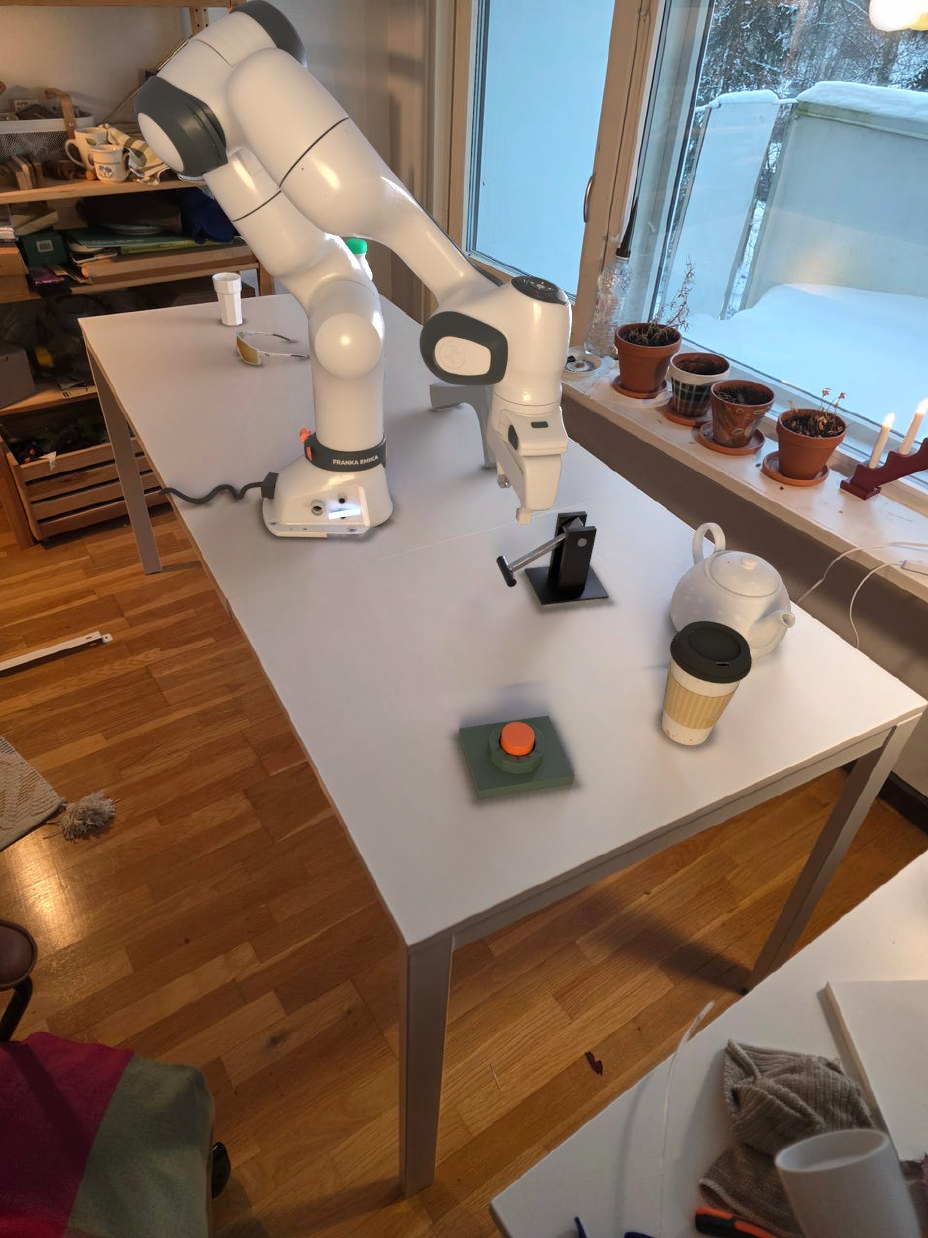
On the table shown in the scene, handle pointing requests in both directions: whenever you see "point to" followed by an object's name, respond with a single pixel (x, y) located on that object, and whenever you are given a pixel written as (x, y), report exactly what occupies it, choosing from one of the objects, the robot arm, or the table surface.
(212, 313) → the table surface
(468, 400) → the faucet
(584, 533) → the lever stand
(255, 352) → the sunglasses
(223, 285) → the cup
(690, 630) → the coffee cup
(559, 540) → the tap lever
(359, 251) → the water bottle
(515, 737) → the button
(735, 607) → the teapot
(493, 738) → the button box
